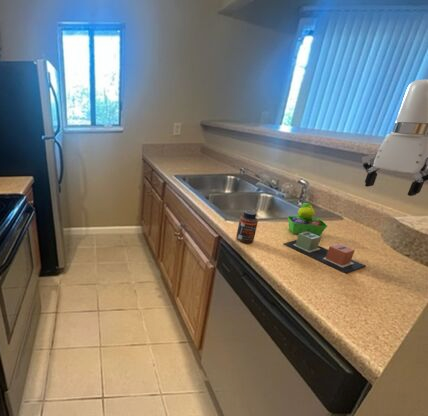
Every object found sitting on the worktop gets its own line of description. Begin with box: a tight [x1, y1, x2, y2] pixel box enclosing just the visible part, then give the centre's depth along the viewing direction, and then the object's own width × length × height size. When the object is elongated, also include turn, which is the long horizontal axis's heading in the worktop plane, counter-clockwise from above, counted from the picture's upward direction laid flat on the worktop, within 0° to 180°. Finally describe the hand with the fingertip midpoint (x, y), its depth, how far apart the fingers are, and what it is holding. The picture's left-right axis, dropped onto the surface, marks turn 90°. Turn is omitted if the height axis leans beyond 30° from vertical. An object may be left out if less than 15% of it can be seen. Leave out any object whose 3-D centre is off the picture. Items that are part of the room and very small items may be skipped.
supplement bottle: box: [235, 209, 259, 244], centre depth 101 cm, size 6×6×11 cm
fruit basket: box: [287, 202, 328, 237], centre depth 107 cm, size 11×9×11 cm
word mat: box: [282, 239, 366, 274], centre depth 93 cm, size 20×10×1 cm, turn 22°
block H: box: [296, 232, 322, 251], centre depth 96 cm, size 5×5×5 cm
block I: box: [326, 243, 356, 266], centre depth 88 cm, size 5×5×5 cm
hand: (389, 190), depth 80 cm, fingers open, 9 cm apart
